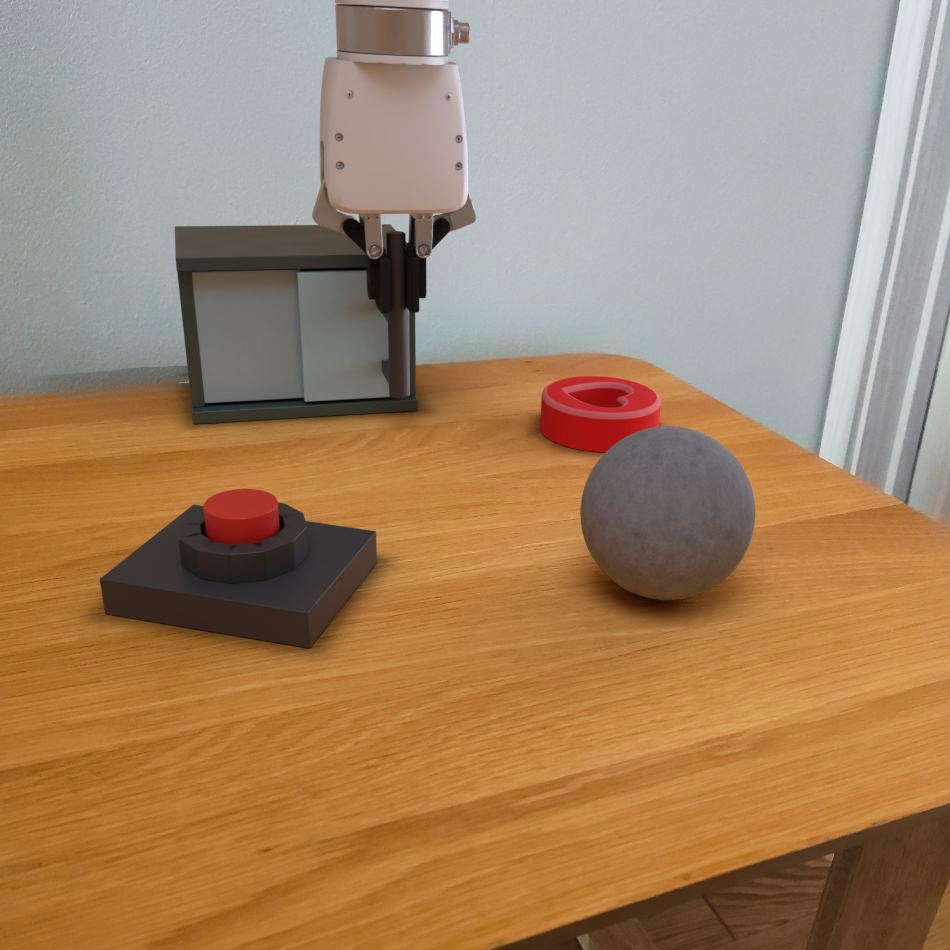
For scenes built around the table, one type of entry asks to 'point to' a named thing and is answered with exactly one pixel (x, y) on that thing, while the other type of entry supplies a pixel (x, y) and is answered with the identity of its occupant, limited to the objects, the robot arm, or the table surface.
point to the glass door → (354, 332)
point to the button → (241, 516)
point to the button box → (243, 578)
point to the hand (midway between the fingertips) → (396, 307)
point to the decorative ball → (667, 513)
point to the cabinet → (260, 320)
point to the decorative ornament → (596, 411)
